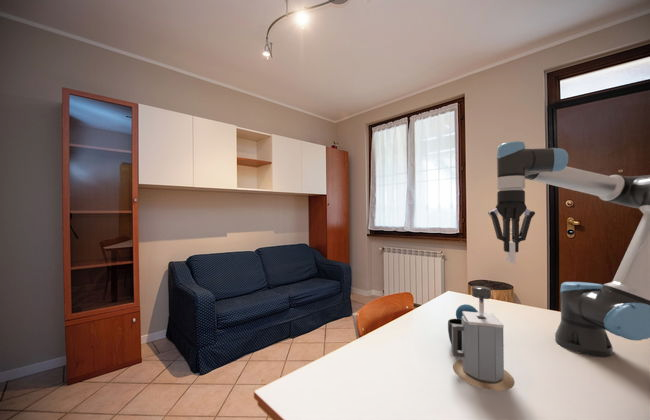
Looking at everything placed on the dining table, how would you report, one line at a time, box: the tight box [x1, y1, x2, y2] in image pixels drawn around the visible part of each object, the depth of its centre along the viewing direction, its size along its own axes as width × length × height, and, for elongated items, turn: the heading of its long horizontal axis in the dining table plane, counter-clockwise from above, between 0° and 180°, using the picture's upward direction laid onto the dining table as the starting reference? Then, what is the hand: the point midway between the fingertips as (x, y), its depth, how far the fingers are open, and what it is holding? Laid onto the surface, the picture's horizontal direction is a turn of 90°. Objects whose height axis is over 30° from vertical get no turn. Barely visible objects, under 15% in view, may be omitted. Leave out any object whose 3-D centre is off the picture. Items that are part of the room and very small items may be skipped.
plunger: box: [471, 285, 492, 327], centre depth 82 cm, size 8×8×12 cm
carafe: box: [451, 311, 505, 384], centre depth 82 cm, size 13×10×17 cm
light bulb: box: [455, 303, 479, 319], centre depth 108 cm, size 8×8×12 cm
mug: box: [447, 318, 462, 351], centre depth 97 cm, size 8×12×10 cm
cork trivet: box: [452, 358, 515, 392], centre depth 82 cm, size 16×16×1 cm
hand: (511, 262), depth 89 cm, fingers closed
